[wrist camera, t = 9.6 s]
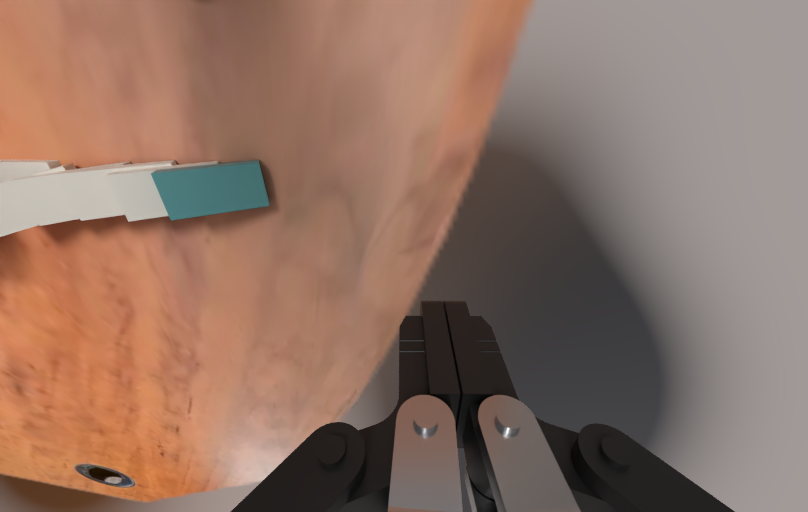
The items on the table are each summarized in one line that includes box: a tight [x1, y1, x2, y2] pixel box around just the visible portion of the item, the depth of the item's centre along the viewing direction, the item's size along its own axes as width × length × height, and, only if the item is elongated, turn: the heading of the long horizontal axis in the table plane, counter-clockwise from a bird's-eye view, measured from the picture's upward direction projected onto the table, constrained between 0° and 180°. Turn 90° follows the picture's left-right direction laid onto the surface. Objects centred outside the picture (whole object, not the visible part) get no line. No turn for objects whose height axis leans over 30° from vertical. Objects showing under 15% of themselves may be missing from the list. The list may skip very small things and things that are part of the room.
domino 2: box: [0, 163, 77, 237], centre depth 35 cm, size 2×5×10 cm
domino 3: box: [7, 161, 131, 226], centre depth 34 cm, size 2×5×10 cm
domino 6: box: [151, 160, 270, 220], centre depth 34 cm, size 2×5×10 cm
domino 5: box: [105, 161, 220, 222], centre depth 34 cm, size 2×5×10 cm
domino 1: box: [0, 159, 61, 183], centre depth 36 cm, size 2×5×10 cm
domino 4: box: [54, 160, 177, 221], centre depth 34 cm, size 2×5×10 cm
